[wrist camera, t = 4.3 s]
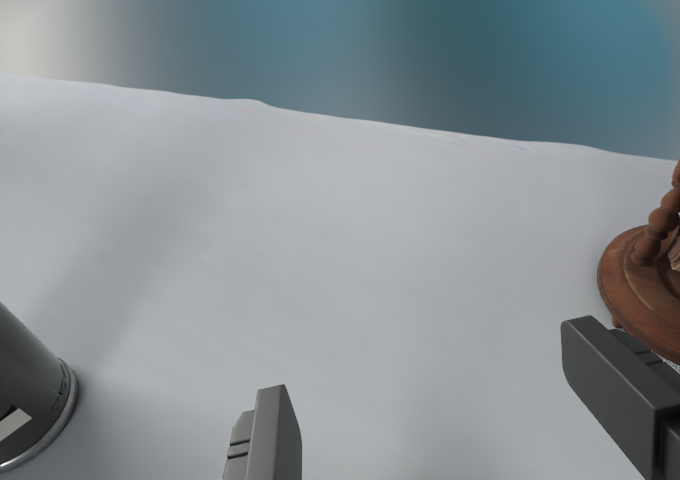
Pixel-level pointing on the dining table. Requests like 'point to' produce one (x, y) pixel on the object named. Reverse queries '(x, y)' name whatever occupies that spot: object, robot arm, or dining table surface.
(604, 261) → the scroll
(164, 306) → the dining table surface
